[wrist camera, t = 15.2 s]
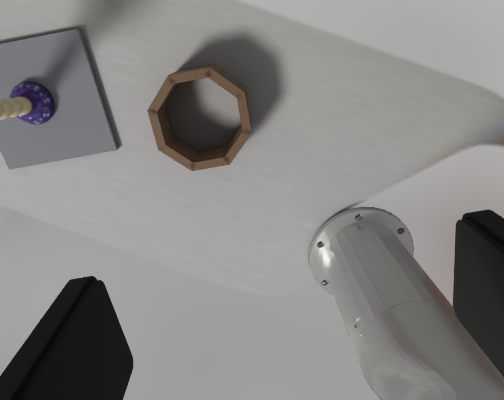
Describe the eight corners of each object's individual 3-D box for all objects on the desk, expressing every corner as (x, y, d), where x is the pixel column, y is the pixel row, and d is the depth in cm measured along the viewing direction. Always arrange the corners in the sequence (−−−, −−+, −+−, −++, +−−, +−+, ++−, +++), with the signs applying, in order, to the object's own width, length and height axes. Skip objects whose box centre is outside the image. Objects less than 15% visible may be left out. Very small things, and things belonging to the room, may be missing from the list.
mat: (118, 148, 41) (116, 149, 41) (12, 167, 42) (9, 169, 41) (80, 29, 37) (77, 28, 36) (-39, 52, 37) (-43, 52, 37)
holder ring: (255, 147, 42) (256, 159, 38) (173, 162, 42) (165, 175, 38) (239, 59, 38) (239, 61, 34) (149, 76, 39) (139, 80, 34)
